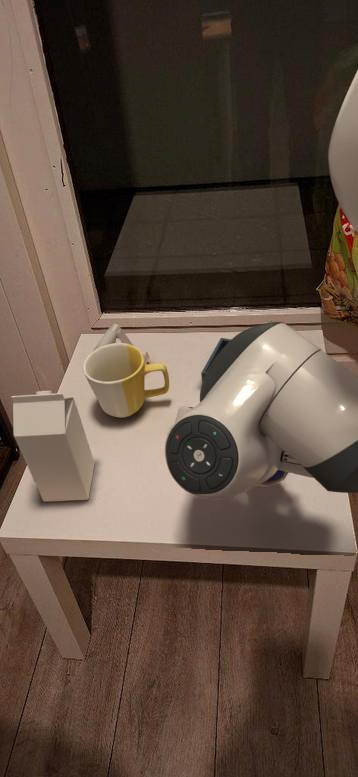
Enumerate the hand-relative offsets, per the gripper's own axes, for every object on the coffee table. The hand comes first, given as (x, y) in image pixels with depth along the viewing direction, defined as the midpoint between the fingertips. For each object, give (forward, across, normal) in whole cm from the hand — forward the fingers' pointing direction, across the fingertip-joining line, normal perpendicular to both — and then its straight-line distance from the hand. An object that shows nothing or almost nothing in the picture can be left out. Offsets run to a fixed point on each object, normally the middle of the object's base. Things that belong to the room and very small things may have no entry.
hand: (266, 443), depth 74 cm
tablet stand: (+19, +33, -6) cm, 38 cm away
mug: (+14, +27, 0) cm, 30 cm away
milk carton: (+1, +29, +13) cm, 32 cm away
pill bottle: (+4, 0, +4) cm, 6 cm away
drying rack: (+23, +10, -10) cm, 27 cm away
